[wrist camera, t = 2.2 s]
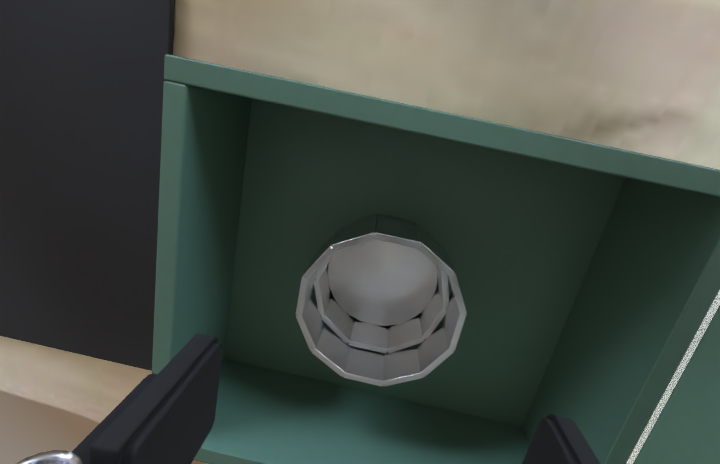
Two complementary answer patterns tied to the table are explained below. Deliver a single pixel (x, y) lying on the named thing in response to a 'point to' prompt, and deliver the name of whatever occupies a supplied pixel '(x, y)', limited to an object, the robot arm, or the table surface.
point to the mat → (81, 172)
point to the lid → (691, 411)
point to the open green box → (474, 273)
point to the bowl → (381, 302)
